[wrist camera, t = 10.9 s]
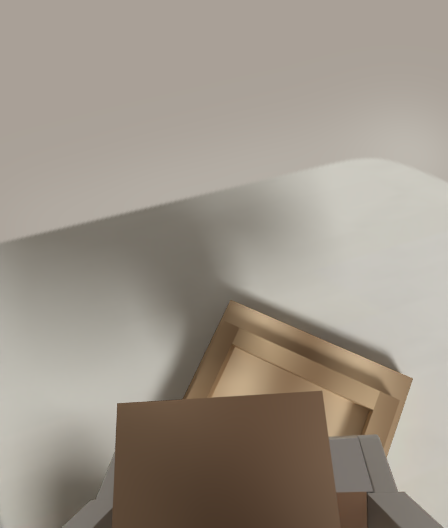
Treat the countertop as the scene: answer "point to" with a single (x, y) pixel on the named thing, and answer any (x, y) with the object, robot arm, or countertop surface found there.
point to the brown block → (225, 463)
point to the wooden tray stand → (300, 373)
